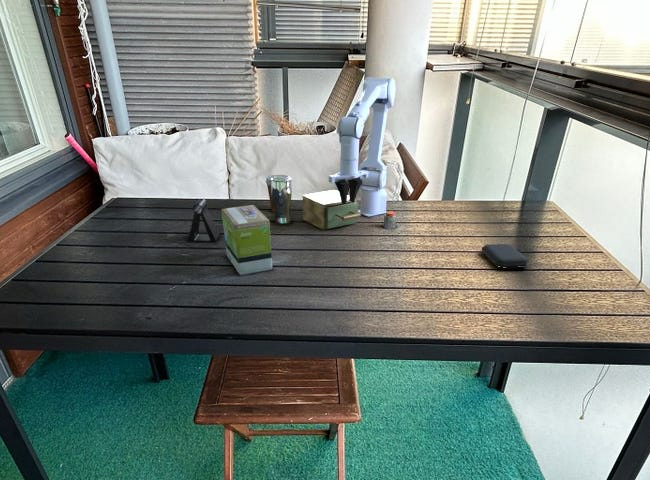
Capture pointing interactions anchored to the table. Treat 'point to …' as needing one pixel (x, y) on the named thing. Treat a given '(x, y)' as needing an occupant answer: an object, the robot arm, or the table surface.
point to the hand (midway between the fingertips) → (347, 202)
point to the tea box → (247, 239)
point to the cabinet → (319, 206)
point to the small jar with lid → (390, 220)
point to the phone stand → (208, 223)
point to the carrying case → (504, 256)
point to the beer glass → (281, 199)
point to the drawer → (341, 214)
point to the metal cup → (268, 182)
